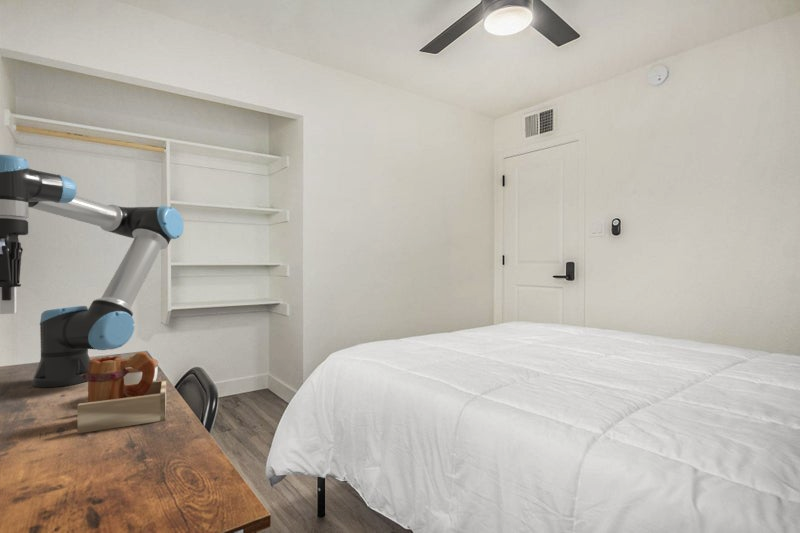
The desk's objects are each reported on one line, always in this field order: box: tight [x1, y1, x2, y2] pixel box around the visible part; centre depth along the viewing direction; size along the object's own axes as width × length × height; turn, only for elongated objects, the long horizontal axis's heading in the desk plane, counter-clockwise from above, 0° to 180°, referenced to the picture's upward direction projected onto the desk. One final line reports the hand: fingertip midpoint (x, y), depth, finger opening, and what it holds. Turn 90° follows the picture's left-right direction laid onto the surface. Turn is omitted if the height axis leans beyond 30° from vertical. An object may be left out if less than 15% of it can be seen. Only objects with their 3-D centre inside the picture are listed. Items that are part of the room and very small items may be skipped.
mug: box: [82, 351, 155, 403], centre depth 101 cm, size 15×8×15 cm, turn 117°
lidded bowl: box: [124, 355, 159, 384], centre depth 117 cm, size 13×13×11 cm
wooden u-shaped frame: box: [77, 379, 167, 434], centre depth 101 cm, size 15×16×6 cm
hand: (8, 313), depth 105 cm, fingers closed
